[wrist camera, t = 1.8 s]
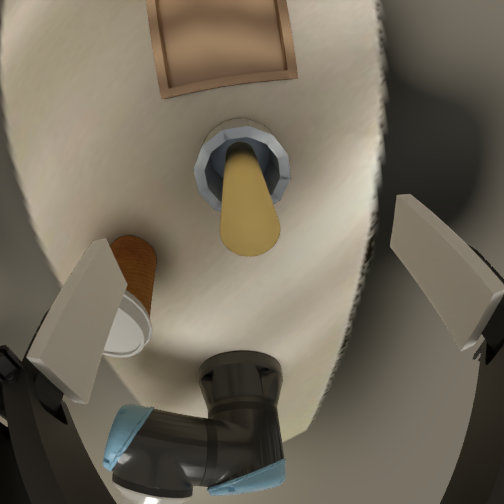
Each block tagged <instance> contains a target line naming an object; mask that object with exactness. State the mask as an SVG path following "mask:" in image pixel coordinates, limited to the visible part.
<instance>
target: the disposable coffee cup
mask: <svg viewBox="0 0 504 504" xmlns="http://www.w3.org/2000/svg"><path fill="white" fill-rule="evenodd" d="M110 248H111V250H112V253H113V255H114V257H115V259H116V261H117V263H118V266H119V268H120V270H121V272H122V274H123V276H124V278H125V280H126V282H127V284H128V285H127V287H126V290H125V292H124V295H123V297H122V300H121V303H120V305H119V308H118V311H117V313H116V316H115V319H114V321H113V324H112V327H111V330H110V333H109V336H108V339H107V342H106V345H105V348H104V351H103V355H107V356H111V357H118V358H125V357H131V356H133V355H135V354H137V353H139V352H140V351H141V350H142V348H143V347H144V346H145V345H146V344H147V343H148V342H149V340H150V339H151V335H152V326H151V321H150V309H151V301H152V292H153V284H154V277H155V270H156V264H157V259H156V254H155V252H154V250H153V249H152V247H151V246H150V245H149V244H148V243H147V242H145V241H144V240H142V239H140V238H138V237H135V236H123V237H120V238H118V239H117V240H115V241H114V242H113V244H112V245H111V246H110Z"/></svg>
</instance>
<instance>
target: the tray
mask: <svg viewBox="0 0 504 504" xmlns="http://www.w3.org/2000/svg"><path fill="white" fill-rule="evenodd" d="M146 4H147V12H148V20H149V27H150V34H151V41H152V48H153V54H154V60H155V66H156V72H157V77H158V83H159V88H160V94H161V99H167V98H171V97H175V96H179V95H184V94H188V93H193V92H197V91H202V90H208V89H213V88H219V87H225V86H231V85H238V84H245V83H253V82H263V81H273V80H287V79H296V78H298V74H297V67H296V59H295V52H294V45H293V38H292V32H291V26H290V20H289V14H288V8H287V3H286V0H146Z"/></svg>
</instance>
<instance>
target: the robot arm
mask: <svg viewBox="0 0 504 504" xmlns="http://www.w3.org/2000/svg"><path fill="white" fill-rule="evenodd" d="M390 247H391V248H392V250H393V251H394V252H395V253H396V255H397V256H398V257H399V259H400V260H401V261H402V263H403V264H404V265H405V266H406V268H407V269H408V271H409V272H410V274H411V275H412V276H413V278H414V279H415V281H416V282H417V283H418V285H419V286H420V288H421V289H422V290H423V292H424V293H425V295H426V296H427V298H428V299H429V301H430V302H431V304H432V305H433V307H434V308H435V310H436V311H437V313H438V314H439V316H440V317H441V319H442V321H443V322H444V324H445V325H446V327H447V329H448V330H449V332H450V334H451V335H452V337H453V339H454V340H455V342H456V344H457V345H458V347H459V349H460V351H462V350H464V349H466V348H469V347H471V346H473V345H475V343H476V341H477V340H478V338H479V337H480V335H481V334H482V335H483V336H484V338H485V340H484V341H483V343H482V344H481V346H480V347H479V349H478V350H477V351H476V353H475V354H474V357H473V359H476V358H477V356H478V355H479V354H480V353H481V357H480V358H479V361H480V366H479V374H478V381H477V387H476V393H475V398H474V403H473V408H472V413H471V417H470V421H469V425H468V429H467V432H466V436H465V440H464V443H463V446H462V449H461V452H460V455H459V459H458V461H457V464H456V467H455V470H454V472H453V475H452V477H451V480H450V482H449V485H448V487H447V490H446V492H445V494H444V496H443V498H442V500H441V502H440V504H504V279H503V278H502V277H501V276H500V275H499V273H498V272H497V271H496V270H495V269H494V268H493V267H491V265H490V263H489V262H488V261H487V260H485V259H484V257H483V256H482V255H481V254H480V253H479V252H478V251H477V250H476V249H474V248H473V247H471V246H469V245H468V244H466V243H465V242H464V241H463V240H462V239H461V238H460V237H459V236H458V235H457V234H456V233H454V232H453V231H452V230H451V229H450V228H449V227H448V226H447V225H446V224H445V223H444V222H443V221H441V220H440V219H439V218H438V217H437V216H436V215H435V214H434V213H432V212H431V211H430V210H429V209H428V208H426V207H425V206H424V205H423V204H422V203H420V202H419V201H418V200H417V199H415V198H414V197H413V196H412V195H411V194H405V195H397V199H396V207H395V216H394V223H393V230H392V236H391V243H390ZM127 285H128V284H127V282H126V280H125V278H124V276H123V274H122V272H121V270H120V268H119V266H118V263H117V261H116V259H115V257H114V255H113V253H112V250H111V248H110V246H109V243H108V241H107V239H106V238H104V239H99V240H94V241H93V242H92V243H91V245H90V246H89V247H88V249H87V250H86V252H85V253H84V255H83V256H82V258H81V259H80V261H79V262H78V264H77V265H76V267H75V268H74V270H73V271H72V273H71V275H70V276H69V278H68V279H67V281H66V283H65V284H64V286H63V288H62V289H61V291H60V293H59V294H58V296H57V298H56V300H55V302H54V303H53V305H52V307H51V308H50V309H49V310H48V311H47V312H46V314H45V315H44V317H43V319H42V321H41V323H40V326H39V327H38V329H37V331H36V333H35V335H34V337H33V339H32V341H31V343H30V345H29V347H28V350H27V351H26V354H25V356H24V358H23V360H22V362H21V361H20V360H19V359H18V357H17V356H16V355H15V354H14V353H13V352H12V351H11V350H10V349H9V347H7V346H6V345H2V346H0V416H1V417H3V418H4V419H6V420H7V422H8V427H6V426H5V425H3V424H2V423H1V422H0V504H116V502H115V501H114V499H113V497H112V496H111V494H110V493H109V491H108V490H107V488H106V486H105V485H104V483H103V481H102V479H101V478H100V476H99V474H98V473H97V470H96V469H95V467H94V465H93V463H92V461H91V459H90V457H89V455H88V453H87V451H86V449H85V447H84V445H83V443H82V441H81V439H80V436H79V434H78V432H77V429H76V427H75V425H74V422H73V420H72V417H71V415H70V412H69V410H68V407H67V405H66V403H65V402H64V401H63V400H62V398H63V395H64V394H65V395H66V396H67V397H68V398H69V399H71V400H72V401H73V402H77V403H83V404H88V403H89V399H90V395H91V391H92V387H93V384H94V380H95V376H96V373H97V370H98V367H99V363H100V360H101V357H102V354H103V351H104V348H105V345H106V342H107V339H108V336H109V333H110V330H111V327H112V324H113V321H114V319H115V316H116V313H117V311H118V308H119V305H120V303H121V300H122V297H123V295H124V292H125V290H126V287H127ZM282 381H283V376H282V370H281V366H280V364H279V363H278V362H277V361H276V360H275V359H274V358H272V357H270V356H268V355H265V354H261V353H257V352H248V351H238V352H229V353H224V354H220V355H217V356H214V357H212V358H210V359H208V360H207V361H205V362H204V363H203V364H202V366H201V367H200V370H199V385H200V388H201V391H202V394H203V397H204V400H205V403H206V406H207V408H208V419H207V418H201V417H194V416H188V415H183V414H177V413H172V412H167V411H162V410H158V409H154V407H150V408H149V407H144V406H139V405H134V404H126V405H124V406H122V407H121V408H120V409H119V411H118V413H117V414H116V417H115V419H114V422H113V424H112V427H111V430H110V433H109V436H108V440H107V444H106V447H105V452H104V460H103V466H104V468H106V469H108V470H109V471H113V478H112V482H113V484H114V485H115V486H116V487H117V488H118V489H119V490H120V492H121V493H122V503H121V504H182V503H184V502H186V501H187V500H189V499H190V498H192V490H193V486H206V487H208V488H207V491H208V492H209V494H210V495H213V496H216V495H217V496H219V495H220V496H222V495H233V494H243V493H249V492H255V491H261V490H266V489H270V488H274V487H277V486H279V485H281V484H282V483H283V482H284V480H285V458H284V453H283V446H282V439H281V432H280V425H279V419H278V412H277V404H278V400H279V395H280V391H281V386H282Z"/></svg>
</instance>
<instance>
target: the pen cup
mask: <svg viewBox="0 0 504 504" xmlns="http://www.w3.org/2000/svg"><path fill="white" fill-rule="evenodd" d="M235 142H246V143H248V144H249V145H251V146H252V148H253V149H254V152H255V155H256V157H257V160H258V163H259V166H260V168H261V171H262V174H263V177H264V180H265V183H266V185H267V188H268V191H269V194H270V197H271V200H272V203H273V205H274V204H275V203H277V202H278V201H280V200H281V198H282V196H283V193H284V191H285V189H286V187H287V185H288V183H289V181H290V179H291V178H290V167H289V156H288V154H287V153H286V151H285V150H284V149H283V147H282V146H281V145H280V144H279V142H278V141H277V140H276V138H275V137H274V136H273V135H272V134H271V132H270V131H269V130H268V129H267V128H266V127H265V126H264V125H261V124H259V123H258V122H256V121H253V120H250V119H246V118H237V119H231V120H228V121H224V122H223V123H221V124H220V125H218V126H217V127H216V128H214V129H213V131H212V132H210V133H209V134H208V136H207V138H206V139H205V141H204V143H203V145H202V147H201V150H200V153H199V156H198V158H197V161H196V164H195V167H194V174H195V179H196V183H197V188H198V192H199V194H200V195H201V196H202V197H203V198H204V199H205V200H206V201H207V202H208V203H209V204H210V205H211V206H212V208H213V209H214V210H217V211H220V212H221V207H222V193H223V180H224V168H225V156H226V151H227V149H228V147H229V146H230V145H231V144H233V143H235Z"/></svg>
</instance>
